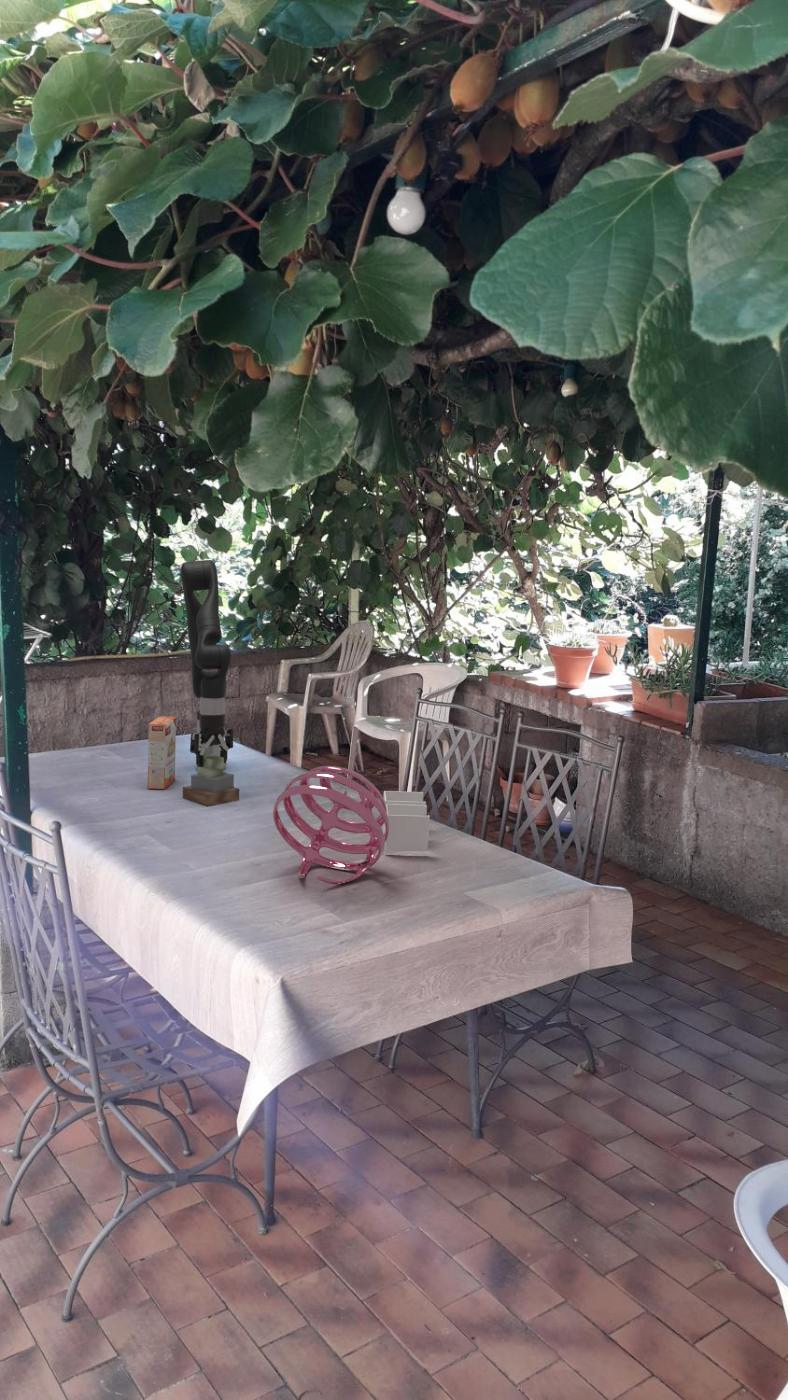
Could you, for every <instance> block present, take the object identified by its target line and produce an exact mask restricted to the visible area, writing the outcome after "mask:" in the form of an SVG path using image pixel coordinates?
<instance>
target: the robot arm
mask: <svg viewBox="0 0 788 1400" xmlns="http://www.w3.org/2000/svg"><path fill="white" fill-rule="evenodd" d="M216 565H217V564H216V563H215V562H214V560H211V559H202V560H201V559H200V560H191V561H185V562H183V563H182V564H181V566H180V579H181V584H182V591H183V597H184V602H185V610H186V622H187V635H188V636H187V637H188V642H189V650H190V651H189V652H190V656H191V657H190V659H191V677H192V678H191V682H192V692H193V695H194V697H195V698H196V699H199V710H197V712H196V732H191V733H190V746H189V752H190V753H193V754H195V765H196V767H195V768H196V770H197V771H198V767H203V763H204V756H206V755H216V756H220V757H223V758H224V770H225V769H227V761H228V751H229V750H230V749H233V748H234V732H233V731H234V730H233V729H232V728H228V727H225V726H226V694H227V675H228V671H229V668H230V664H231V661H232V652H231V650H230V648H229V647H228V646H227V645H224V644H223V645H222V644H219V645H217V644H218V643H220V642H221V641H222V638H223V637H222V636H223V633H222V627H221V626H222V625H221V621H220V612H219V609H220V608H219V602H220V599H219V577H218V576H219V575H218V570H217V566H216ZM197 591H208V593H207V594H206V598H205V600H204V602H203V603H202V604H201V602H200V601H199V599H198V598H197V596H196V594H195V592H197ZM213 669H214V670H217V671H204V670H213Z"/></svg>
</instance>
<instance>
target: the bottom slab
mask: <svg viewBox="0 0 788 1400" xmlns="http://www.w3.org/2000/svg"><path fill="white" fill-rule="evenodd" d="M182 799H183V800H186V801H189V802H192V803H195V804H197V805H201V806H203V807H207V808H208V807H212V806H216V805H223V804H227V803H228V804H229V803H232V801H233V802H237V801H240V788H238V787H235V786H234V787H233V788H230V789H227V790H223V791H220V792H217V793H211V792H206V791H201V790H196V789H191V785H187V786H182Z"/></svg>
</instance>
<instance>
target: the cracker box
mask: <svg viewBox="0 0 788 1400" xmlns="http://www.w3.org/2000/svg"><path fill="white" fill-rule="evenodd" d="M176 737H177V717H175V716H165V715H164V716H161V715H160V716H158V717H157V718H155V719H153V720H152V721H151V722H149V723H148V737H147V738H148V739H147V740H148V742H147V743H148V744H147V745H148V747H147V748H148V749H147V752H148V753H147V790H148V789H150V790H161V789H164V790H166V789H167V788H168V787H169V786H170V785H171V784H172V783H173V782H174V781H175V780H176V778H175V777H176V745H177V742H176V741H177V738H176Z"/></svg>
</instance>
